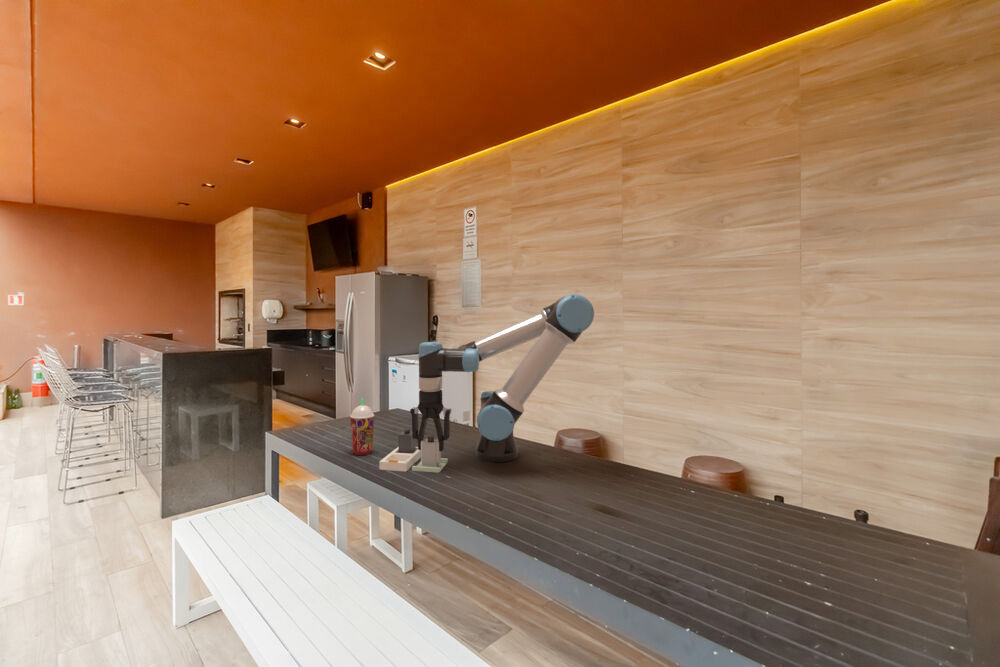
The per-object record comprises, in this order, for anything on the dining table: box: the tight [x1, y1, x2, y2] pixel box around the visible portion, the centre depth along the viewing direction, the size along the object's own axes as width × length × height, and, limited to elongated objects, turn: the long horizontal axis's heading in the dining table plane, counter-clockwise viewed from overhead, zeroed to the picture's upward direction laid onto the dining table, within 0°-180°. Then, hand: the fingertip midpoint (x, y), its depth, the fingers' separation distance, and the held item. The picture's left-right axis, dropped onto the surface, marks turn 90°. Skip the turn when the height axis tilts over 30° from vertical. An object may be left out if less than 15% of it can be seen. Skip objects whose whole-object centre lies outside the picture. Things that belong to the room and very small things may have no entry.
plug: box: [422, 435, 440, 467], centre depth 147 cm, size 4×4×10 cm
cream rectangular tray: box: [378, 427, 421, 472], centre depth 151 cm, size 9×17×10 cm, turn 171°
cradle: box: [411, 457, 449, 473], centre depth 147 cm, size 9×10×2 cm
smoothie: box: [349, 397, 375, 456], centre depth 161 cm, size 8×8×20 cm
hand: (431, 459), depth 147 cm, fingers closed on plug, 4 cm apart
